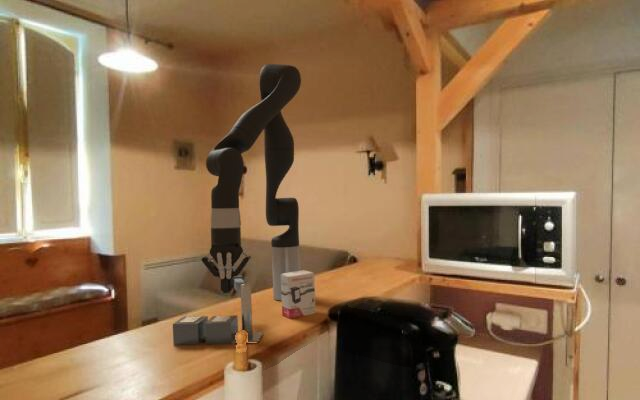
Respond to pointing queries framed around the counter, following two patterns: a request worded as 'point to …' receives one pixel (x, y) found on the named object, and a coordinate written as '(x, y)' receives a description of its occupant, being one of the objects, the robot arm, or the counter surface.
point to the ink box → (298, 294)
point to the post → (247, 314)
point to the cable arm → (238, 283)
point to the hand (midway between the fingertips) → (227, 292)
